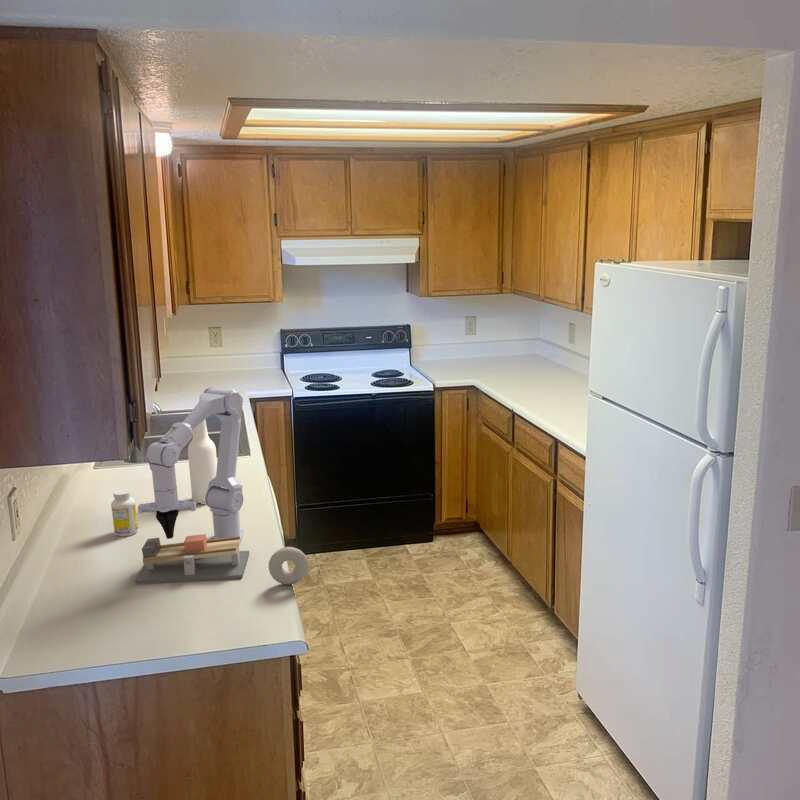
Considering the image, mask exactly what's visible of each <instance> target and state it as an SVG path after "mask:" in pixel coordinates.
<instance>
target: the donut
mask: <svg viewBox="0 0 800 800" xmlns="http://www.w3.org/2000/svg"><path fill="white" fill-rule="evenodd" d="M288 561H291V562H293V563H294V565H295V567H294V568H293V569H292V570H286V569H284V568H283V564H284V563H285V562H288ZM309 564H310V563H309V560H308V557H307V556H306V553H304V552H303V551H302V550H301V549H299V548H296V547H293V546H284V547H281V548H279V549H277V550H276V551H275V552H273V554H272V555H271V556H270V558H269V561H268V571H269V574H270V576H271V577H272V579H273V580H274V581H275V582H277V583H279V584H282V585H288V586H291V585H295V584H298V583H299V582H301V581H302V580H303V579H304V578H305V577H306V575H307V573H308V571H309Z"/></svg>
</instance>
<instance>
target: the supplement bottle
mask: <svg viewBox="0 0 800 800" xmlns="http://www.w3.org/2000/svg"><path fill="white" fill-rule="evenodd" d="M112 495H113V498H114V500H112V502H111V503H110V504H111V505H110V506H111V513H112V515H111V516H112V521H113V522H112V523H113V529H114V535H116V536H117V537H128V536H132V535H135V534H136V533H137V532H138V530H139V525H138V517H137V510H136V509H137V508H136V501H135V499H134V498H133V497H131V491H130V489H126V488H125V489H124V488H123V489H117V490H115V491H113V493H112Z"/></svg>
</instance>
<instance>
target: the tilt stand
mask: <svg viewBox="0 0 800 800" xmlns="http://www.w3.org/2000/svg"><path fill="white" fill-rule="evenodd" d="M249 556H250V550H240V547H239V548H238V551H237V554H231V555H222V556H213V557H204V558H196V559H194V555H185V556H184V558H183V560H178V561H169V562H161V563H152V564H143V565H142V568H141V569H140V570H139V572H138V574H137V576H136V578H135V579H134V584H135V583H144V584H157V583H156V582H164V583H175V582H176V583H181V582H183V583H184V582H198V581H199V582H201V580H204V581H217V580H218V581H221V580H224V581H225V580H241V579H243V577H244V574H245V570H246V568H247V567H246V566H247V563H248V561H249ZM154 582H155V583H154Z"/></svg>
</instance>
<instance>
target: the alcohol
mask: <svg viewBox="0 0 800 800" xmlns="http://www.w3.org/2000/svg"><path fill="white" fill-rule="evenodd" d="M206 420H207V419H205V420H204V421H203V422H202V423H201V424H200V425H198V426H197V427H196V428H195V429H194V430H193V437H192V439H191V440H190V442H189V443H188V447H187V456H188V457H187V458H188V468H189V477H190V479H189V480H190V489H191V499H192V502H196V504H197V503H202V504H201V505H204V504H203V503H205V494H206V492H207V490H208V485H209V482H210V481H211V480H212V479H214V478H215V477H216V471H217V461H218V456H217V448H216V445H215V443H214V441H213V440H212V439H211V438H210V437H209V433H208V427H207V421H206Z"/></svg>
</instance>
